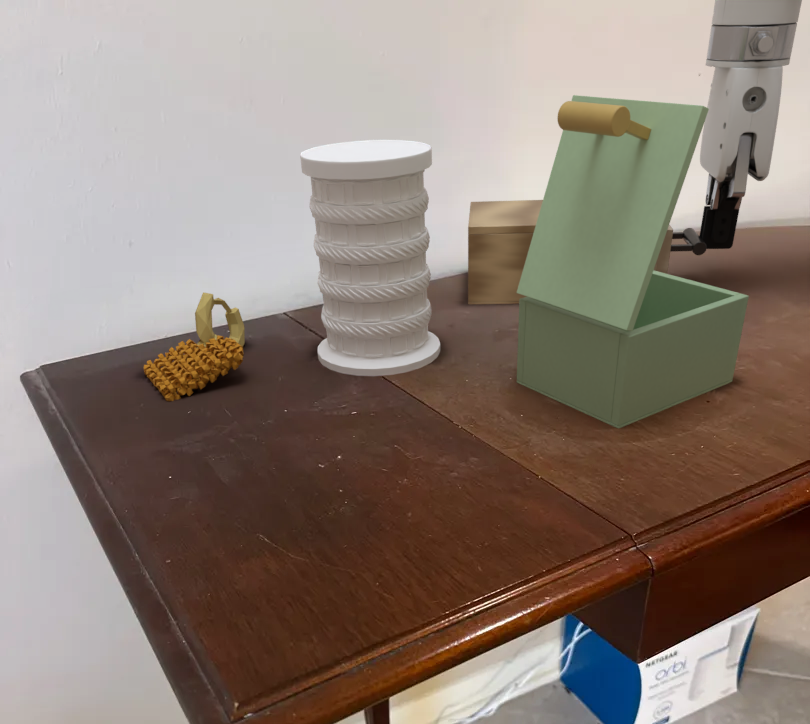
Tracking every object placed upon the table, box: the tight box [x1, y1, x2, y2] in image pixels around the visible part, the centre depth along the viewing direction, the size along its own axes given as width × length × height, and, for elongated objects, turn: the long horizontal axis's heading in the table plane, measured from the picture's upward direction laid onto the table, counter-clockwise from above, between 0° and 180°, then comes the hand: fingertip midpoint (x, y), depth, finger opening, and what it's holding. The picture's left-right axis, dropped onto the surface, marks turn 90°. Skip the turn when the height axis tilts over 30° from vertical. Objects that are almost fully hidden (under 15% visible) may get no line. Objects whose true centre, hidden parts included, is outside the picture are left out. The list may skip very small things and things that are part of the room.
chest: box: [516, 270, 750, 429], centre depth 67 cm, size 14×12×8 cm
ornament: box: [143, 292, 246, 402], centre depth 74 cm, size 7×10×15 cm
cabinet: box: [467, 199, 543, 305], centre depth 89 cm, size 14×12×9 cm
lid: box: [517, 94, 709, 331], centre depth 57 cm, size 14×12×5 cm
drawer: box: [654, 224, 708, 274], centre depth 88 cm, size 17×10×7 cm, turn 85°
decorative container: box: [300, 139, 441, 377], centre depth 72 cm, size 12×12×18 cm
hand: (714, 246), depth 87 cm, fingers closed
